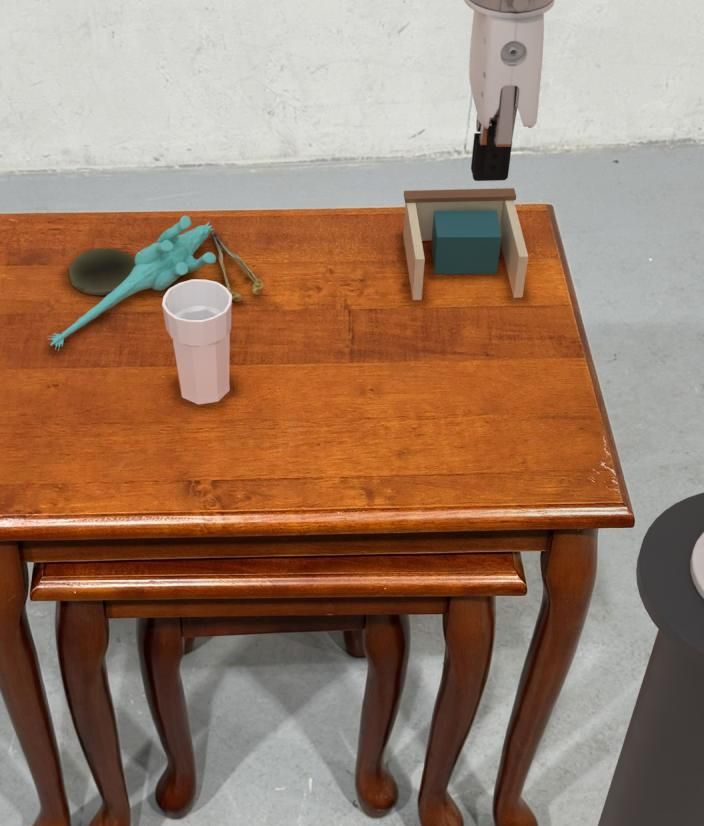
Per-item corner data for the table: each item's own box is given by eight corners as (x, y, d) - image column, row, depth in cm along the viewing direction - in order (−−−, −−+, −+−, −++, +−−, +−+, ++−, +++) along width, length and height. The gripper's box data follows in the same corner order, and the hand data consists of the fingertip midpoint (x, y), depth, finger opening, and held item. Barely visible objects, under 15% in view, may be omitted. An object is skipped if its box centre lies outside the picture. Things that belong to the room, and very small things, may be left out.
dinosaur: (222, 187, 140) (189, 207, 147) (54, 309, 128) (26, 325, 134) (252, 233, 142) (219, 251, 148) (89, 358, 130) (60, 371, 136)
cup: (229, 413, 127) (223, 325, 119) (164, 405, 128) (154, 317, 120) (243, 370, 132) (238, 283, 124) (180, 362, 132) (172, 275, 125)
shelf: (524, 297, 140) (531, 251, 135) (410, 300, 140) (413, 254, 135) (508, 233, 148) (514, 187, 144) (401, 236, 148) (403, 190, 144)
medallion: (97, 239, 146) (98, 244, 147) (53, 277, 142) (54, 282, 142) (154, 261, 143) (154, 267, 144) (110, 301, 139) (111, 306, 140)
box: (497, 274, 143) (501, 236, 139) (434, 274, 143) (437, 237, 139) (492, 247, 146) (496, 210, 143) (431, 248, 146) (433, 211, 143)
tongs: (222, 233, 148) (218, 219, 147) (268, 296, 140) (265, 282, 139) (189, 247, 148) (185, 233, 146) (233, 311, 139) (230, 297, 138)
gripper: (572, 22, 100) (542, 221, 113) (541, -58, 111) (517, 132, 124) (476, 24, 100) (457, 223, 113) (454, -56, 110) (439, 134, 124)
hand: (489, 175), depth 118 cm, fingers closed
